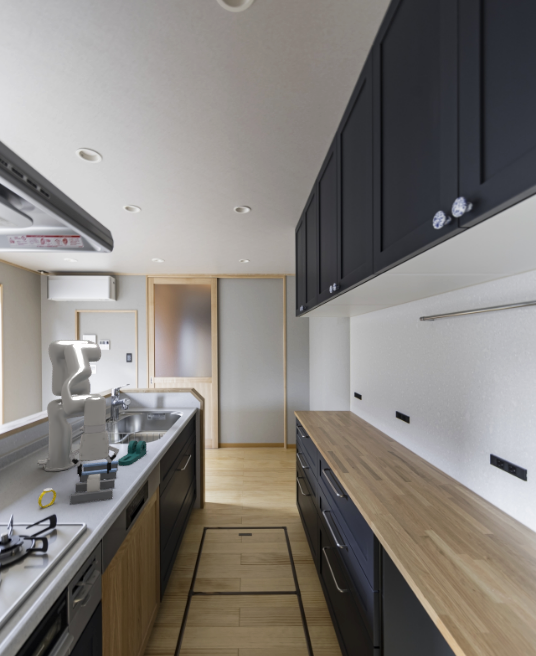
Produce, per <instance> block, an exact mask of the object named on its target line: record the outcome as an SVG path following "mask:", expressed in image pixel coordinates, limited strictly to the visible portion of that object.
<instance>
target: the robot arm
mask: <svg viewBox="0 0 536 656" xmlns="http://www.w3.org/2000/svg"><path fill="white" fill-rule="evenodd" d="M48 355H49V359H50V363H51V366H52V368H51V369H52V373H51V374H52V375H51V393H52V394H53V395H54V396H55V397H56V396H57V397H61V398H57V399H53V400H51V401H49V403H48V404H47V407H46V412H47V418H48V453H47V454H48V458H45V459H38V460H37V465H39V466H43V469H44V471H46V472H61V471H65V470H69V468H70V469H71V468H74V467H75V466H76V475H78V478H80V477H81V475H82V472H83V464H82V463H83V462H91V461H101V460H106V462H107V474H109V471H110V470H111V462H112V461H115V459H116V457H117V456H118V454H119V452H120V449H119V448H117V447H115V446H111V445H110V439H109V433H108V431H107V430H106V429H107V427H106V425H107V423H106V421H107V420H106V417H107V416H106V415H107V413H106V412H107V399H106V397H105V396H103V395H101V394H99V393H91V381H90V377H91V376H92V373H93V372H92V367H91V364H90V363H96V362H99V361H100V360H101V357H102V350H101V348H100V346H99V344H97V343H96V342H93V341H92V340H88V339H86V340H85V339H60V340H53V341H52V342H50V343H49V346H48ZM81 417H83V425H82V426H79V431H82V432H83V433H81V436H80V439H79V448H78V449H77V450H75V451H73V426H72V424H71V423H70V422H69V421H68V419H73V418H81ZM110 451H112V452H113V454H112V455H109V454H110ZM78 454H79V455H78ZM76 455H78V458H79V459H78V458H76V457H75V456H76Z"/></svg>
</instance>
